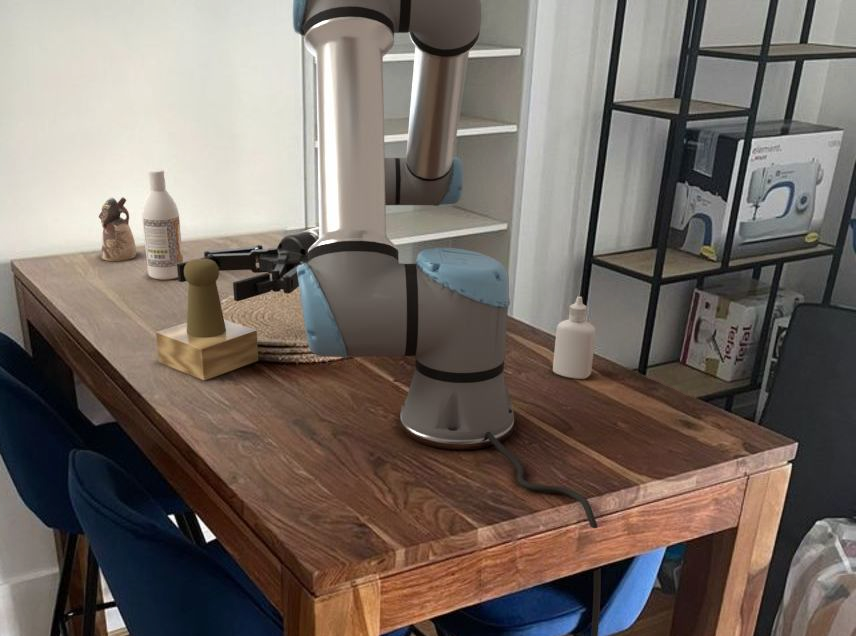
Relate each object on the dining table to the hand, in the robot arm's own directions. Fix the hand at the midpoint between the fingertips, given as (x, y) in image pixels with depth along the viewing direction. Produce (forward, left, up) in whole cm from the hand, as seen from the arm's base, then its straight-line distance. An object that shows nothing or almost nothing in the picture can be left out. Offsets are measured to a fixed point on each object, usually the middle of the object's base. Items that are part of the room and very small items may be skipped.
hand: (206, 282), depth 153 cm
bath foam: (+46, -14, -13) cm, 50 cm away
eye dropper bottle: (-37, -41, -13) cm, 57 cm away
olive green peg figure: (0, +1, -8) cm, 8 cm away
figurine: (+64, -12, -13) cm, 66 cm away
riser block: (0, +1, -13) cm, 13 cm away
